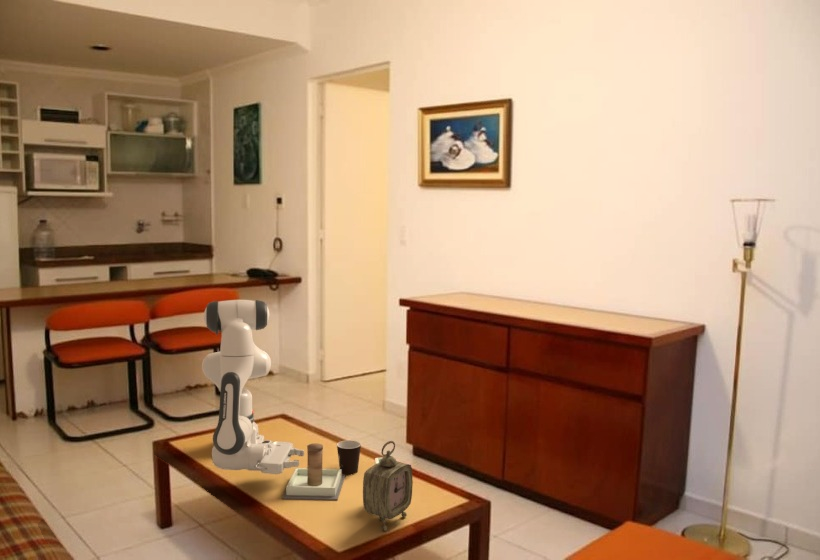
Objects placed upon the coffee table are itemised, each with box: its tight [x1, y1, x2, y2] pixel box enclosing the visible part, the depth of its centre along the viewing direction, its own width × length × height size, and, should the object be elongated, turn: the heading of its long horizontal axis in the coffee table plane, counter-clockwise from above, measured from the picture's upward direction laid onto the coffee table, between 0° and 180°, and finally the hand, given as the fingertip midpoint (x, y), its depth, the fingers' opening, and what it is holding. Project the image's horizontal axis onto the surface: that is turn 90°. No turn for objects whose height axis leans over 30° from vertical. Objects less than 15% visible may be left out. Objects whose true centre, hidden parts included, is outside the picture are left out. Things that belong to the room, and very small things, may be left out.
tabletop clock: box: [362, 440, 414, 532], centre depth 202 cm, size 14×9×25 cm, turn 148°
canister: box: [306, 443, 324, 486], centre depth 227 cm, size 5×5×13 cm
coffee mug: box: [336, 439, 362, 476], centre depth 243 cm, size 12×9×10 cm
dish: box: [285, 467, 343, 496], centre depth 228 cm, size 16×16×3 cm
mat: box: [281, 474, 346, 501], centre depth 228 cm, size 20×18×1 cm
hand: (301, 458), depth 227 cm, fingers open, 8 cm apart
